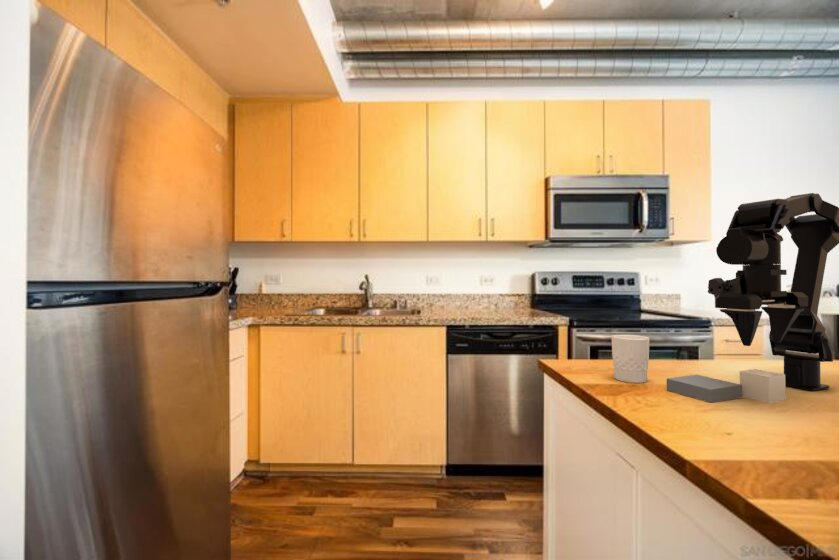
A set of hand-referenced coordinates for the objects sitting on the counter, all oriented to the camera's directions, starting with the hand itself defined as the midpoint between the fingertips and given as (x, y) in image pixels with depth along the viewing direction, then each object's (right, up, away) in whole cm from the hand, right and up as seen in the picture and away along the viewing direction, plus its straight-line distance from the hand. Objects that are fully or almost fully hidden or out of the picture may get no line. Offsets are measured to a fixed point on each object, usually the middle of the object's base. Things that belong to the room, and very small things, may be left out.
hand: (762, 344), depth 78 cm
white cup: (-18, -11, +15) cm, 26 cm away
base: (-10, -11, +3) cm, 15 cm away
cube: (0, -11, 0) cm, 11 cm away
